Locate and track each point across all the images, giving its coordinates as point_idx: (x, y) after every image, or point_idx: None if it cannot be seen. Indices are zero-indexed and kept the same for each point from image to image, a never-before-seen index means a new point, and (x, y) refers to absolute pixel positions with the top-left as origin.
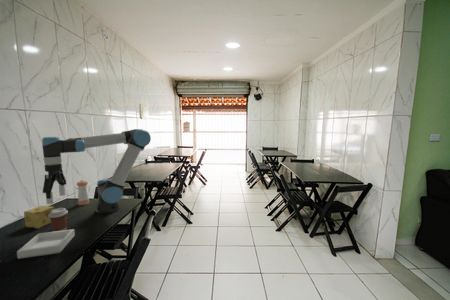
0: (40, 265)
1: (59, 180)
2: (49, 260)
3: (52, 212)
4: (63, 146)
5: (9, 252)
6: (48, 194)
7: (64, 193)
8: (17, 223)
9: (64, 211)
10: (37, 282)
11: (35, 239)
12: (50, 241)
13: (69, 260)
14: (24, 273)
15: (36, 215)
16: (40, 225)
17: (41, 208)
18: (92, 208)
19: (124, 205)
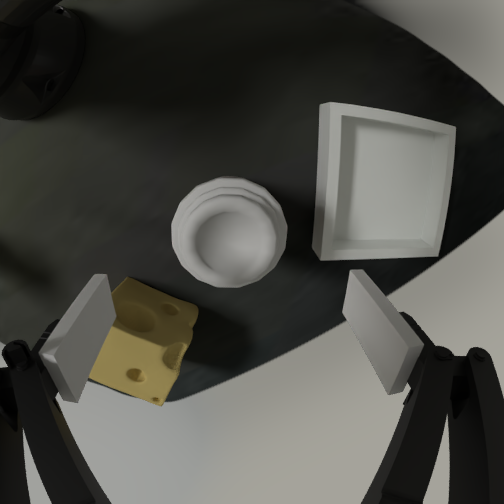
0: (475, 161)
1: (82, 467)
2: (463, 145)
3: (267, 263)
4: None
5: None
6: (429, 346)
7: (98, 287)
8: None
9: (237, 195)
10: None
11: (362, 246)
12: (359, 188)
13: (475, 89)
14: (488, 188)
15: (177, 352)
16: (187, 307)
17: (120, 364)
18: (5, 161)
19: None
